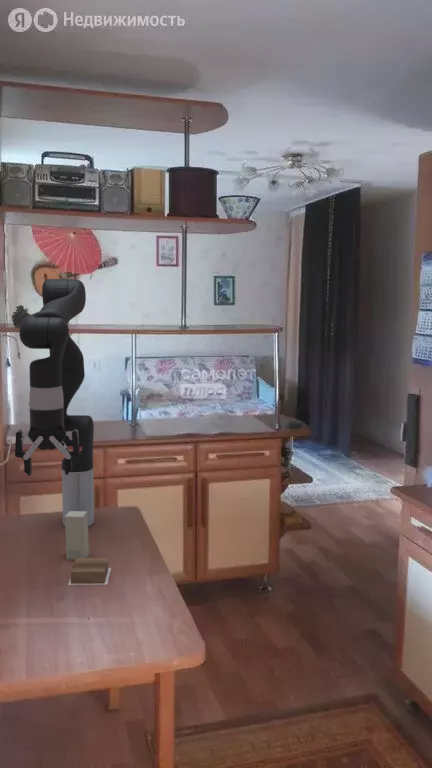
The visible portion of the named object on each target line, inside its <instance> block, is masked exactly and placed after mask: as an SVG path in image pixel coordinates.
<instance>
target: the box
mask: <svg viewBox="0 0 432 768" xmlns="http://www.w3.org/2000/svg"><path fill="white" fill-rule="evenodd" d="M64 528H65V529H64V532H65V533H64V534H65V550H66V552H65V553H66V554H65V555H66V560H74V561H75V560H76V558H89V555H90V543H89V526H88V516H87V511H69V512H68V513H67V514H66V515H65V526H64Z"/></svg>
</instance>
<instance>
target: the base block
mask: <svg viewBox="0 0 432 768" xmlns="http://www.w3.org/2000/svg"><path fill="white" fill-rule="evenodd" d="M108 568H109V557H87V558H76V560H74V562H73V565H72V568H71V570H70V578H71V584H96V583H105V580H106V576H107V573H108Z"/></svg>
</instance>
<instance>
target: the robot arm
mask: <svg viewBox="0 0 432 768" xmlns="http://www.w3.org/2000/svg"><path fill="white" fill-rule="evenodd" d="M41 287H42V288H41V294H42V295H41V296H42V297H41V298H42V305H43V306H42V307H41V308H40V310H39V311H36V312H35V313H34V312H33V313H31V314H30V315H28V316H26V317H25V318H24V320H23V321H22V322H21V324H20V327H19V333H18V335H19V340H20V341H21V343H22V345H24V346H25V347H26V348H27V349H32V350H39V349H40V350H42V349H43V350H44V349H45V350H49V356H47V357H43V358H38V359H35V360H32V361H31V362H30V364H29V393H28V395H29V396H28V397H29V398H28V406H29V431H27V430H22V429H18V430H17V431H16V432H15V442H14V443H15V445H14V446H15V447H14V456H15V458H20V459H22V460H23V472H24V474H26V475H27V476H28V477H29V476H31V475H32V474H33V473H32V472H33V470H32V467H33V465H32V457H31V456H32V455H33V454H34V452H35V450H37V449H39V450H40V451H45V450H51V451H53V450H55V449H56V450H58V451H59V452H60V453H61V454H62V455H63V456H64V458H63V459H62V460H61V488H62V489H61V490H62V491H61V492H62V495H61V496H62V502H61V503H62V525H63V526H64V527H65V515H66V514H67V513H68V512H69V511H87V516H88V527H90V526H92V525H93V524H94V523H95V521H94V520H95V501H94V500H95V493H94V431H95V428H94V420H93V417H92V416H91V415H83V414H82V415H80V414H78V415H76V414H73V415H71V414H68V412H67V411H68V408H69V405H70V404H71V401H72V399H73V398H74V396H75V395H76V394H77V392H78V391H79V390H80V387H81V385H82V384H83V382H84V380H85V376H86V375H85V362H84V361H85V359H84V354H83V353H82V350H81V349H80V347H79V346H78V344H77V343H76V342H75V341H74V340H73V338H72V337H71V336H70V328H69V325H68V323H69V322H70V321H71V320H73V318H75V317H77V316H78V315H79V314H80V313H82V312H83V311H84V309H85V306H86V301H87V300H86V299H87V293H86V287H85V284H84V283H83V281H81V280H80V279H75V278H47V279H45V280H44V281H43V284H42V286H41ZM27 437H28V438H29V439H30V441H31V442H32V444H31V445H30V446H29V448H28V449H27V451H24V450H23V442H24V441H25V440H26V438H27ZM68 447H72V450H70V449H69V448H68ZM80 447H81V450H80Z"/></svg>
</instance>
